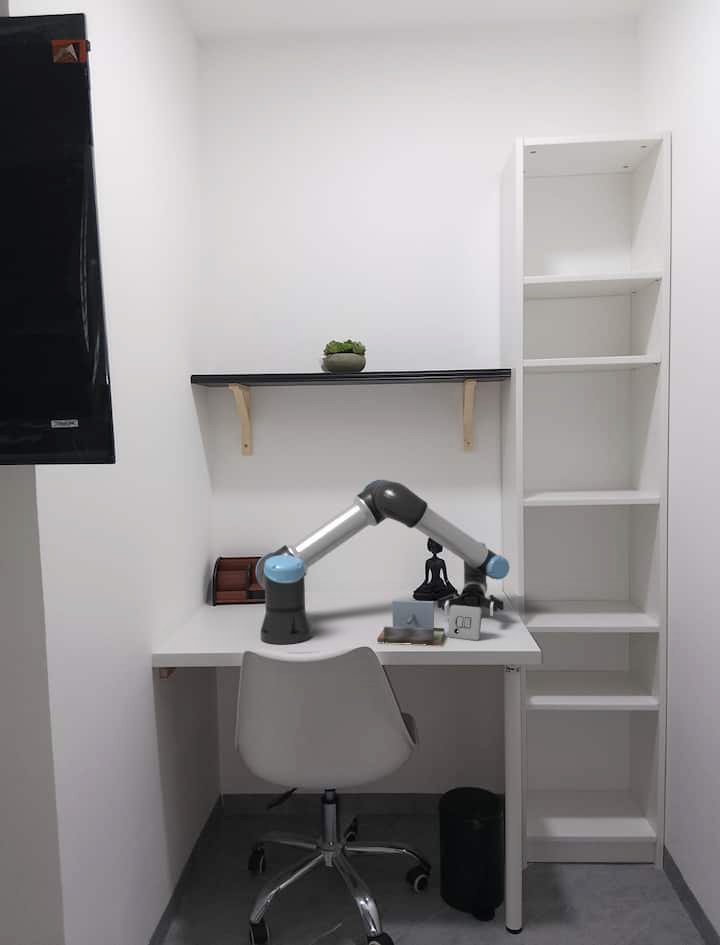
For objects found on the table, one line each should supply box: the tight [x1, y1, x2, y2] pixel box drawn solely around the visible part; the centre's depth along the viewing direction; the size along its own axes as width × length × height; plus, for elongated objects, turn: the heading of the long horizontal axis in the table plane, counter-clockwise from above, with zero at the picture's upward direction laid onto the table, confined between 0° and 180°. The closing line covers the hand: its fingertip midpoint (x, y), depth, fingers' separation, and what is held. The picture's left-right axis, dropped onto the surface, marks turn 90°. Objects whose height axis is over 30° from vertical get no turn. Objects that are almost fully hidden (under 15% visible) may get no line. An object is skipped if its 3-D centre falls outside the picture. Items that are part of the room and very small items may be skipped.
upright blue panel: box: [392, 599, 445, 631], centre depth 207 cm, size 15×8×8 cm, turn 77°
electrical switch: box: [447, 605, 483, 641], centre depth 209 cm, size 9×5×9 cm, turn 62°
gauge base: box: [376, 626, 446, 646], centre depth 207 cm, size 18×10×4 cm, turn 77°
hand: (468, 610), depth 215 cm, fingers open, 13 cm apart
